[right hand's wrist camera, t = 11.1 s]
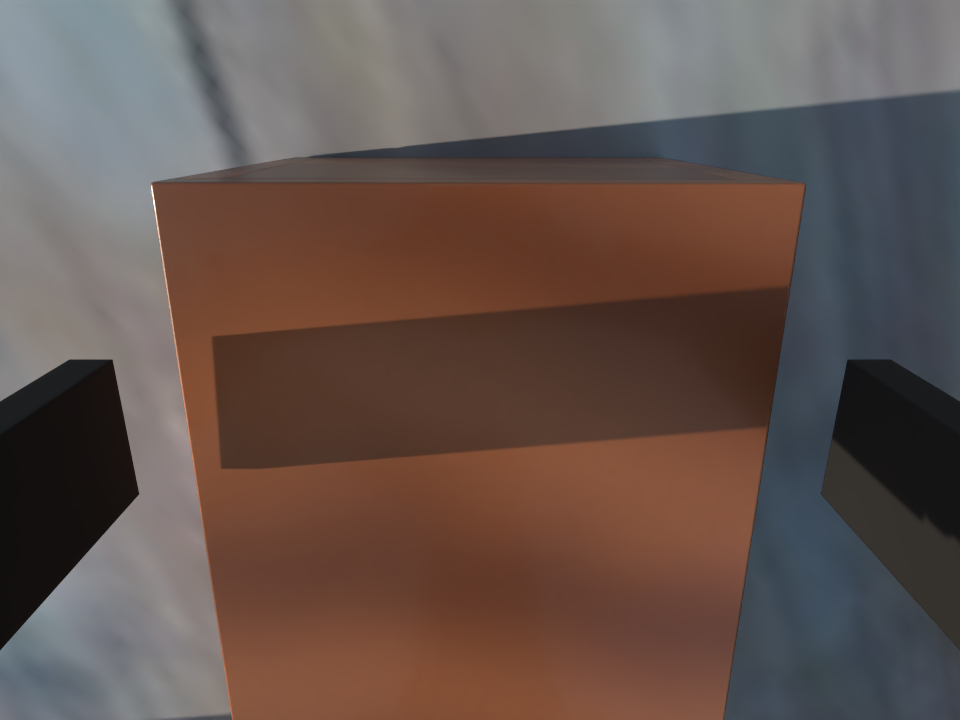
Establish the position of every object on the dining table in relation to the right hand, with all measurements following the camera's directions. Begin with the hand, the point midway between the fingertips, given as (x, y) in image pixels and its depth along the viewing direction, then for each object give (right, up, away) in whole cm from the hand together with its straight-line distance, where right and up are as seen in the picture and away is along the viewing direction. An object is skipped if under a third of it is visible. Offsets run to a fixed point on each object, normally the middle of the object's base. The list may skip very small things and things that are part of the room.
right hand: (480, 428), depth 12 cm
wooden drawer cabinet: (0, -1, +11) cm, 11 cm away
